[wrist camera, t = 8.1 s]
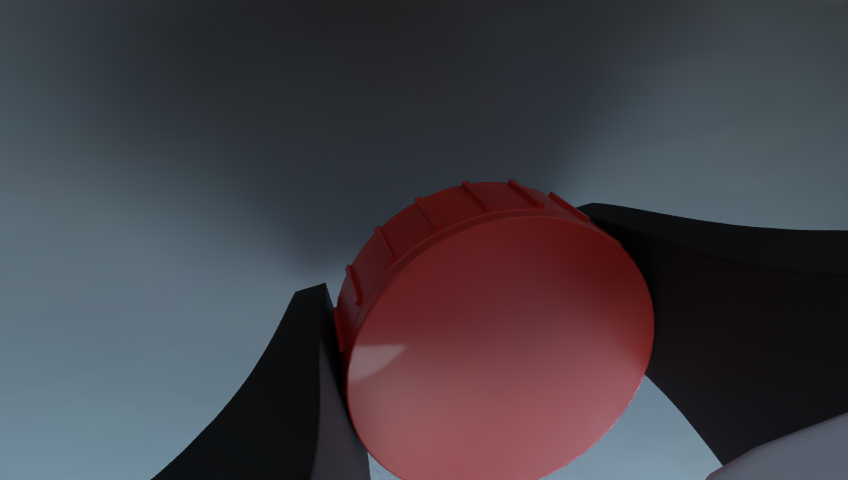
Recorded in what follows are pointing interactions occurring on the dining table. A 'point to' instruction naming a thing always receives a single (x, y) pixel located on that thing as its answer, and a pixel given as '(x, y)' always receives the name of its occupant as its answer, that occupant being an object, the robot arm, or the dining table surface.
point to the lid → (490, 335)
